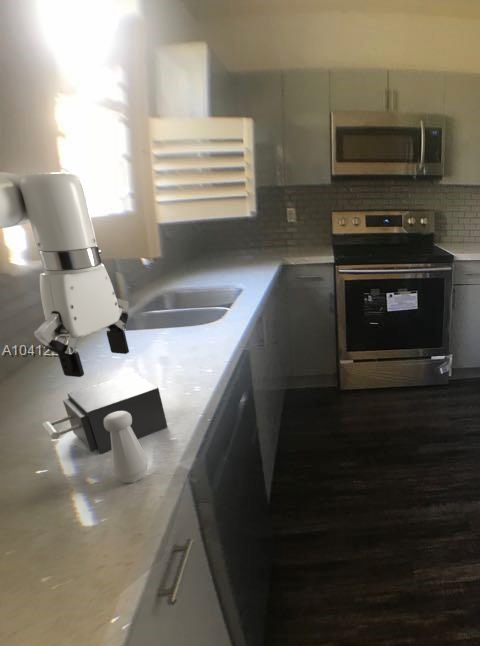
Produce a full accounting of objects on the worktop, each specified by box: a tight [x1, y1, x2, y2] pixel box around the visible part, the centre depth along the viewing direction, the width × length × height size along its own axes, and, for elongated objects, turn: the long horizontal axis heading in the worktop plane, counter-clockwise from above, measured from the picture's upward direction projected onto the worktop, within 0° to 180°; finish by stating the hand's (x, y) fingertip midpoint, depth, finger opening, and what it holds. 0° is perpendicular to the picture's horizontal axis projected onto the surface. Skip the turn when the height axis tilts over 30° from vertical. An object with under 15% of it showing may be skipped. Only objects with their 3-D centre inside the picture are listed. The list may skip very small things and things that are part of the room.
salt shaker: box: [104, 411, 149, 484], centre depth 82 cm, size 6×6×13 cm
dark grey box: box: [66, 372, 168, 455], centre depth 98 cm, size 14×13×10 cm
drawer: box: [41, 397, 98, 453], centre depth 95 cm, size 17×11×8 cm, turn 138°
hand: (98, 363), depth 76 cm, fingers open, 9 cm apart
